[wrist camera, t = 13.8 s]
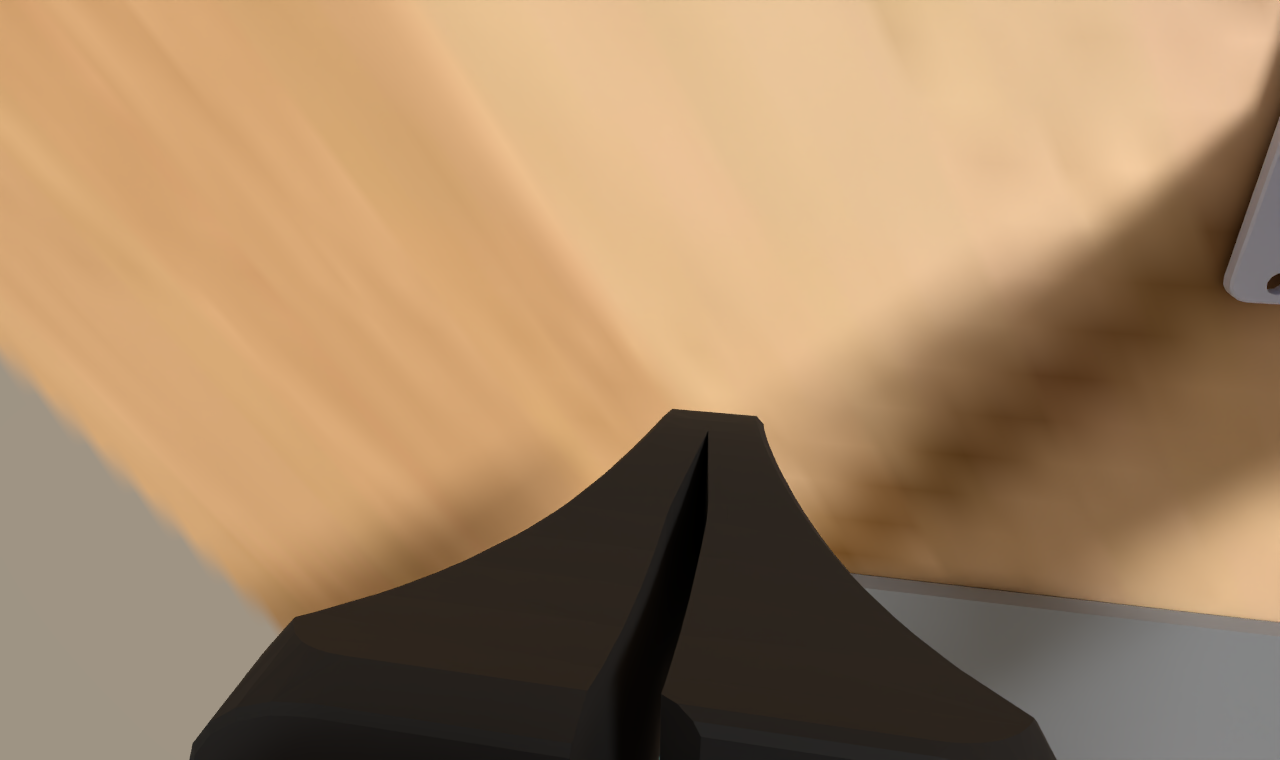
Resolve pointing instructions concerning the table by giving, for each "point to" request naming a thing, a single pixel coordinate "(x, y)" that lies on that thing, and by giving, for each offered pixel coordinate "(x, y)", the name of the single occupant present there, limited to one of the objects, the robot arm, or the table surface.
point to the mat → (1107, 669)
